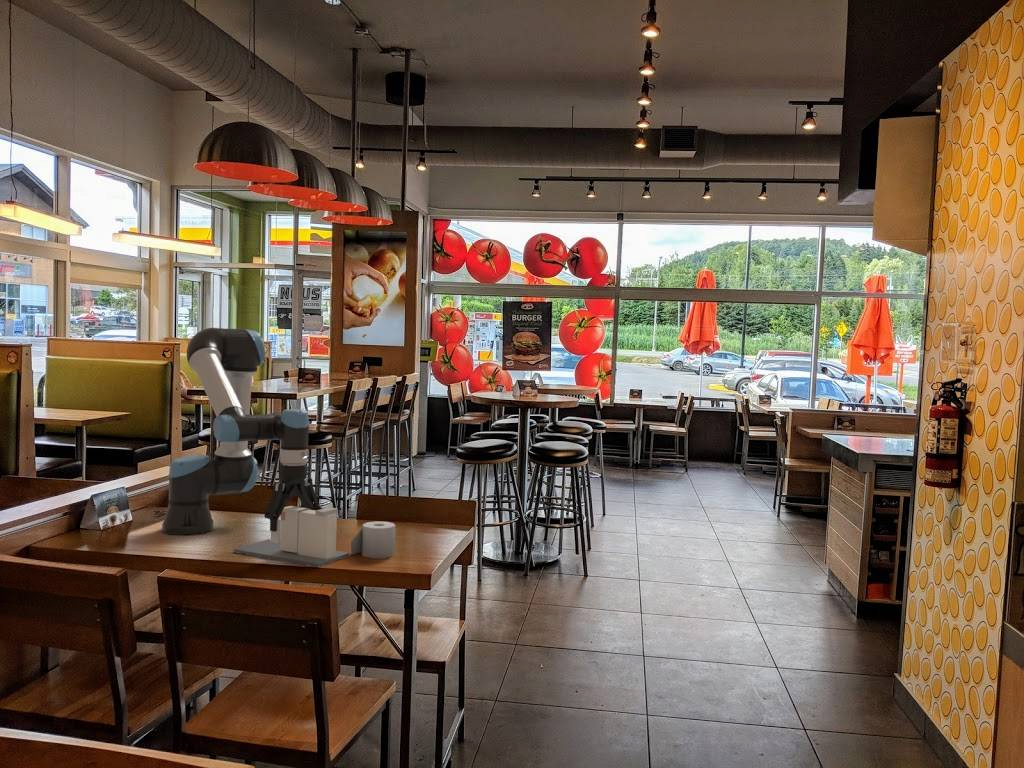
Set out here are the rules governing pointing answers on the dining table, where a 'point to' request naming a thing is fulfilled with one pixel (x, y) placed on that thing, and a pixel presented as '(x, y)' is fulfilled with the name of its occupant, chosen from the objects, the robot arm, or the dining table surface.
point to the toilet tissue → (375, 540)
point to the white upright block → (290, 529)
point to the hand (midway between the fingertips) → (291, 537)
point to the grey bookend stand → (305, 541)
